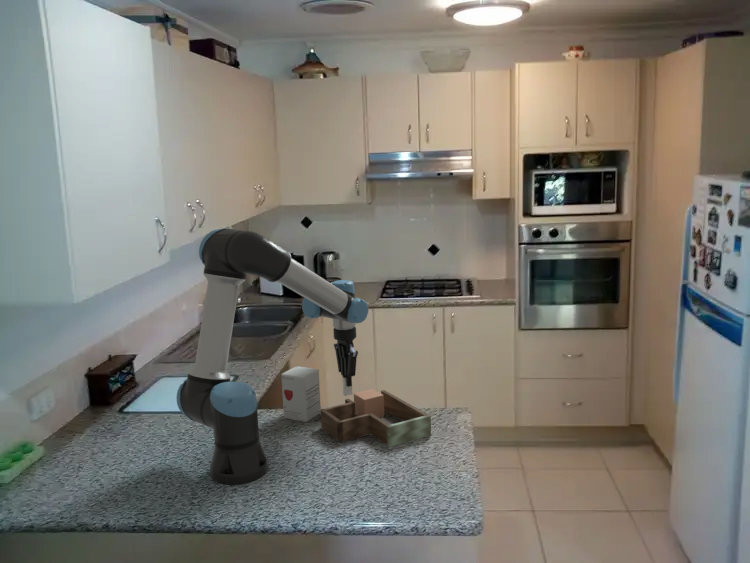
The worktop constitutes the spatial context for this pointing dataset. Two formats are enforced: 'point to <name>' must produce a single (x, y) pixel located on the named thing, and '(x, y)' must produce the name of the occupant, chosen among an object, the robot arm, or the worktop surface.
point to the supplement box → (301, 393)
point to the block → (369, 403)
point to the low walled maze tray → (398, 433)
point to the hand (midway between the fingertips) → (347, 394)
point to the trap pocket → (344, 422)
